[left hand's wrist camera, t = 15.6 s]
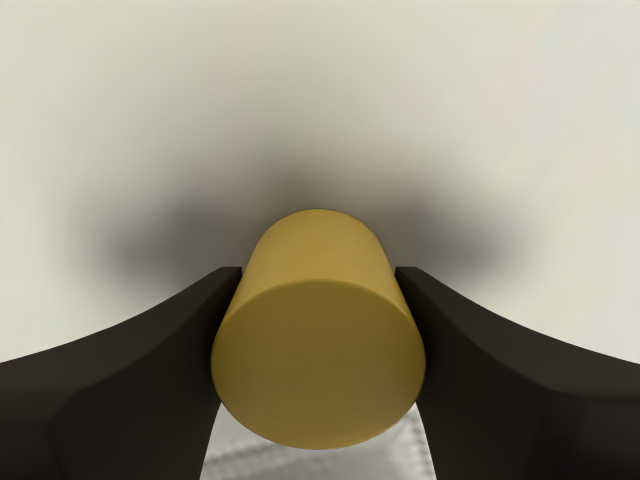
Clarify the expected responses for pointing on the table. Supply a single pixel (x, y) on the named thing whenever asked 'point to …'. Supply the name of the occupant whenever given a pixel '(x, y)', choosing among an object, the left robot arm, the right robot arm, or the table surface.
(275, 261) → the tin
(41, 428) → the left robot arm
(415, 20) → the table surface
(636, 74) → the table surface
